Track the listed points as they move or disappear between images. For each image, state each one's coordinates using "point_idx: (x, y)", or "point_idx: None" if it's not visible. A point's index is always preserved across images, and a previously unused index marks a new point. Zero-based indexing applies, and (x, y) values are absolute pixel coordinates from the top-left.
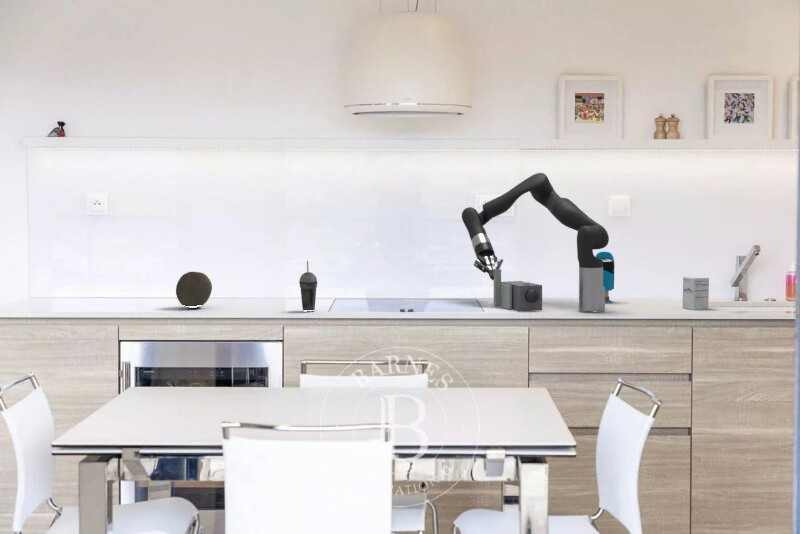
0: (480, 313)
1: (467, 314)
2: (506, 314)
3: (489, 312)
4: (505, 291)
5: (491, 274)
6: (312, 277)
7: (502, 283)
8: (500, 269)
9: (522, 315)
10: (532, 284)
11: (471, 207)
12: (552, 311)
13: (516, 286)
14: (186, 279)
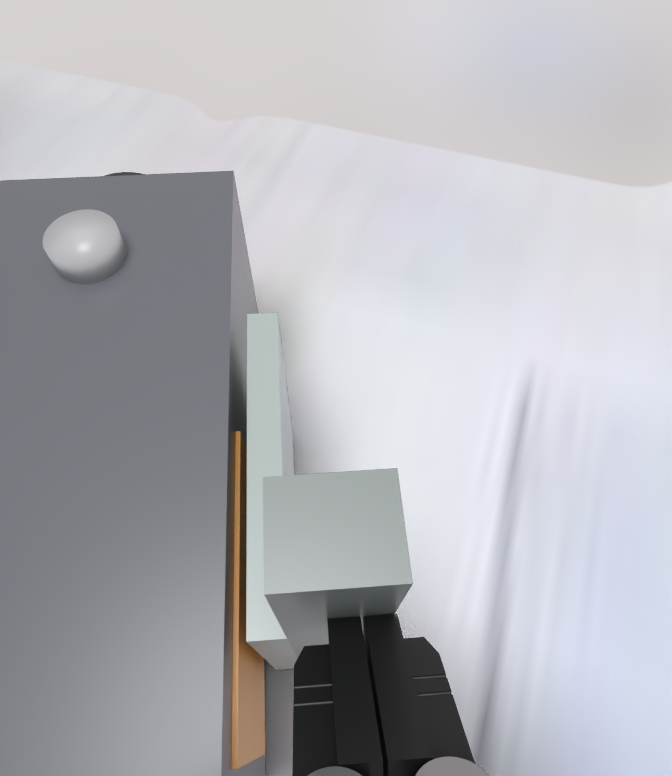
0: (565, 308)
1: (662, 285)
2: (404, 227)
3: (490, 340)
4: (286, 447)
5: (428, 678)
6: None
7: (247, 592)
8: (279, 476)
9: (325, 172)
10: (18, 258)
11: None
12: None
13: (234, 239)
14: None
